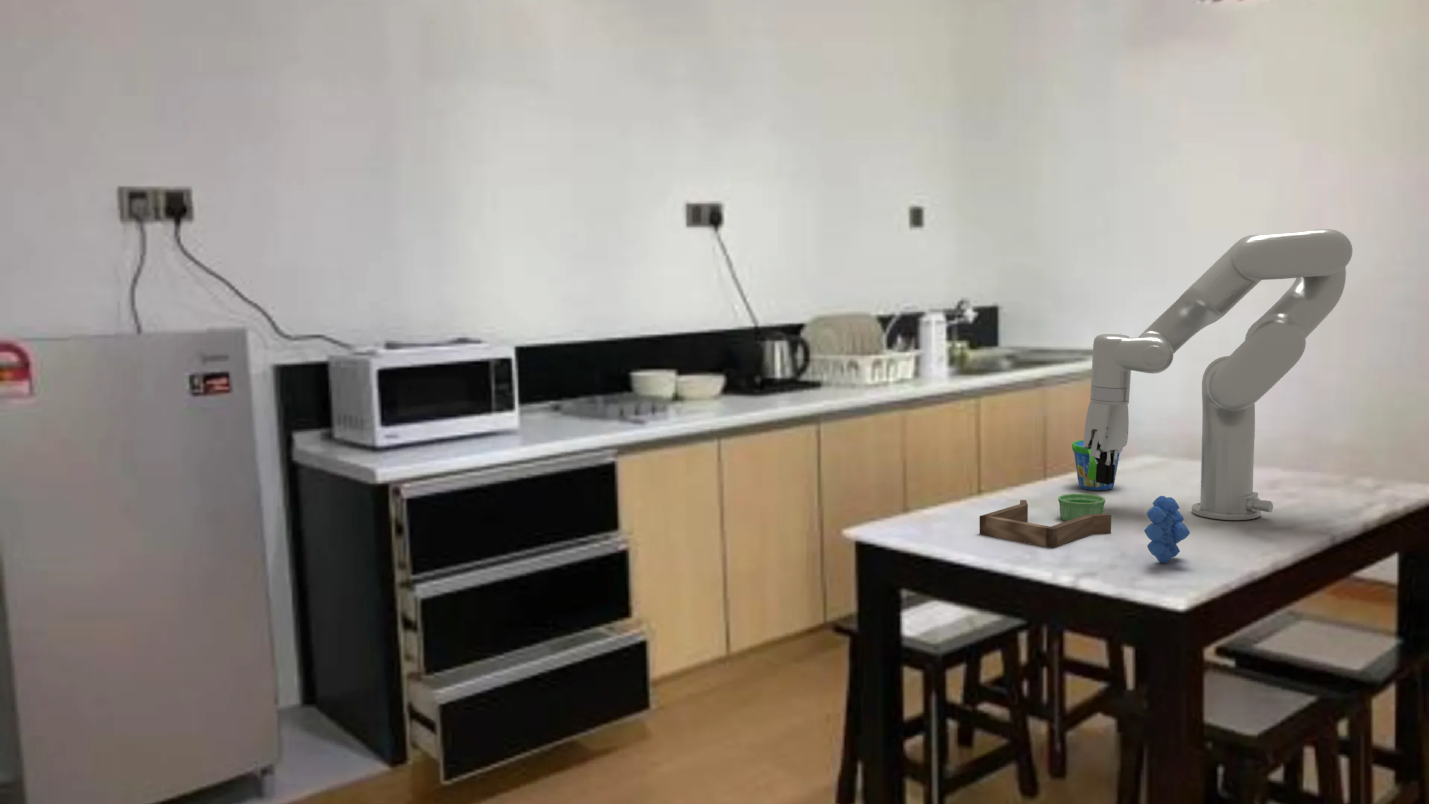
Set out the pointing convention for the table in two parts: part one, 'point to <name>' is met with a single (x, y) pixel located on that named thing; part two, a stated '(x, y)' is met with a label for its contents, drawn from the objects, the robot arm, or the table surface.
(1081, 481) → the snack cup
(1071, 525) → the walnut holder
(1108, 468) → the robot arm
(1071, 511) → the ramekin
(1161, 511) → the grapes
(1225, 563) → the table surface
